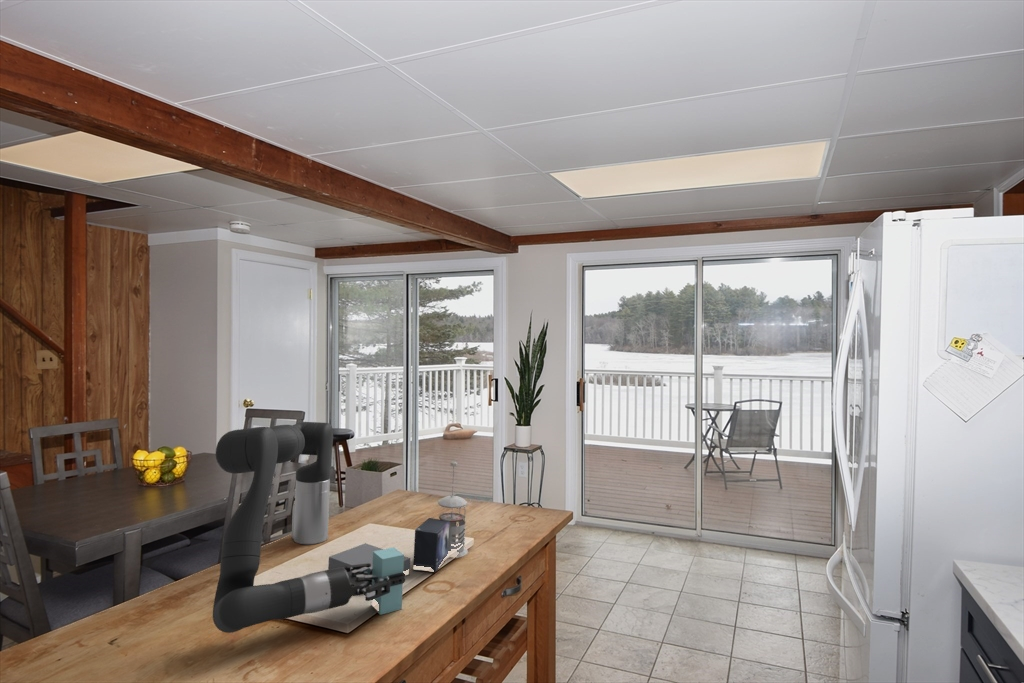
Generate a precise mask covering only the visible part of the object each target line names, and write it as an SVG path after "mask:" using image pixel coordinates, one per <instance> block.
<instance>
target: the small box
mask: <svg viewBox="0 0 1024 683" xmlns="http://www.w3.org/2000/svg"><path fill="white" fill-rule="evenodd" d="M449 522H450V521H447V520H440V519H438V518H432V517H431V518H430V517H428V518H426V520H425V521H424V522H422V523H421V524H420V525H419V526H418V527H416V528H415V529H414V542H413V559H412V560H413V561H412V566H413V565H416V566H424V567H431V568H432V569H433V570H434V573H433V574H436V572H438V570H439V569H438V567H439V565H440V564H441V562H442V561H443V559H444V558H445V557H446V556H447V554H448V541H449Z"/></svg>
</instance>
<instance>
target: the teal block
mask: <svg viewBox="0 0 1024 683" xmlns="http://www.w3.org/2000/svg"><path fill="white" fill-rule="evenodd" d="M382 549H383V550H378V551H373V564H372V569H373V571H372V575H378V576H379V577H380V576H382V577H383V576H389V575H394V574H398V573H403V567H404V556H405V554H404V553H402V552H401V551H400V550H398V549H397V548H396V547H394V546H393V547H389V548H382ZM379 582H382V581H379ZM379 582H378V583H379ZM403 584H404V583H403ZM403 584H399V585H395V586H391V587H390V593H388V594H385V595H383V596H380V597H378V598H375V600H376V601H377V602H378V604H379V611H378V612H377V613H378V614H379V615H384V614H385V615H386V614H389V613H392V612H396V611H399V610H402V609H403V589H404V588H403V586H404V585H403ZM372 585H374V580H373V579H372Z"/></svg>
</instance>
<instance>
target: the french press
mask: <svg viewBox="0 0 1024 683" xmlns="http://www.w3.org/2000/svg"><path fill="white" fill-rule="evenodd" d="M457 466H458V462H457V461H451V462H450V467H453V468H452V483H454V480H455V476H454V475H455V467H457ZM451 492H452V494H451V495H447V496H445V497H442V498H440V499H439V500H438V501H437V505H438V506H440V507H441V508H442V507H443V508H445V509H446V508H447V509H458V510H459V511H458V512H444V513H441V514H439V516H438V518H439V520H447V521H450V522H449V541H448V551H451V549H457V548H459V547H460V546H461V545H462V544H463V546H462V547H461V548H460V549H459V550H457V552H459V554H458V555H457V557H456V558H455V559H458V558H462V557H464V556H466V555H468V553H469V551H468V548H466V549H464V547H465V540H466V539H465V537H466V533H465V532H466V521H465V520H466V513H464V514H462V513H461V509H462V508H463V509H464V511H466V506H467V504H468V501H467V500H465V499H464V498H463V497H460V496H457V495H454V487H452V489H451ZM457 535H458V536H457ZM456 540H457V541H456ZM458 543H461V544H460V545H458V546H456V547H454V546H451V544H454V545H456V544H458Z"/></svg>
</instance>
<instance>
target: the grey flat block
mask: <svg viewBox="0 0 1024 683" xmlns="http://www.w3.org/2000/svg"><path fill="white" fill-rule="evenodd" d="M383 549H384V548H381V547H379V546H378V547H377V546H375V545H372V544H369V543H366V542H365V543H363V544H360V545H357V546H354V547H351V548H348V549H345V550H344V551H341V552H338V553H336V554H332V555H330V556H329V557H328V569H327V570H329V569H334V568H339V567H343V568H344V566H349V565H358V564H367V563H370V564H371V566H372V564H373V551H378V550H383ZM408 569H410V570H411V557H407V556H405V555H404V567H403V571H406V570H408Z"/></svg>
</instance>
